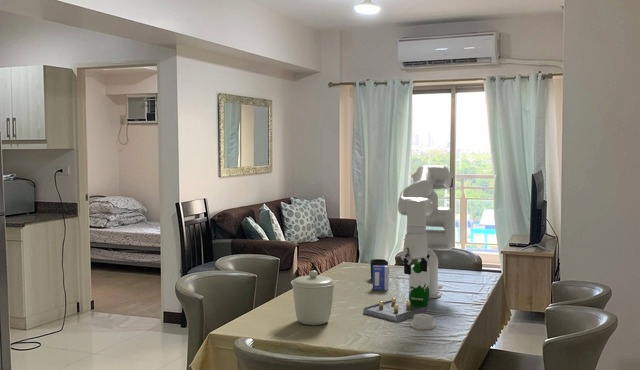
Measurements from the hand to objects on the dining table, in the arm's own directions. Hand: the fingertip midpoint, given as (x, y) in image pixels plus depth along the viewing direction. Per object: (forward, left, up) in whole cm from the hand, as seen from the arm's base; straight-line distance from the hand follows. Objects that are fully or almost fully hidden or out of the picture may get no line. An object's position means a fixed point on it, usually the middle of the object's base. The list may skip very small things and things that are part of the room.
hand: (415, 272), depth 251 cm
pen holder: (-52, -62, -21) cm, 84 cm away
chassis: (-6, -15, -21) cm, 26 cm away
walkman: (-35, -47, -21) cm, 62 cm away
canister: (+28, -30, -21) cm, 46 cm away
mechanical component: (+1, +4, -21) cm, 22 cm away
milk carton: (-22, -14, -21) cm, 33 cm away
